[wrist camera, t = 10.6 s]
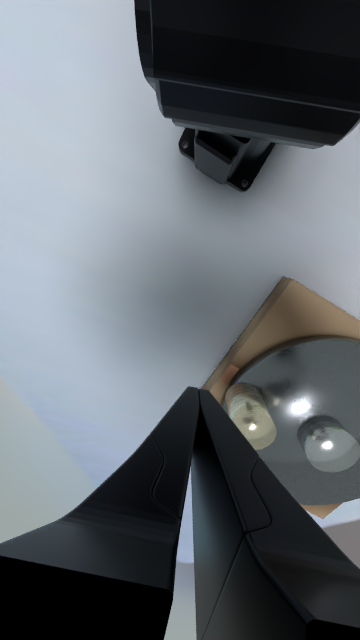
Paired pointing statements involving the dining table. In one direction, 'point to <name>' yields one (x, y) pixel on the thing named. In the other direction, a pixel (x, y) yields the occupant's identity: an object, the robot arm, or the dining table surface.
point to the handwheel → (304, 415)
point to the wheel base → (284, 337)
